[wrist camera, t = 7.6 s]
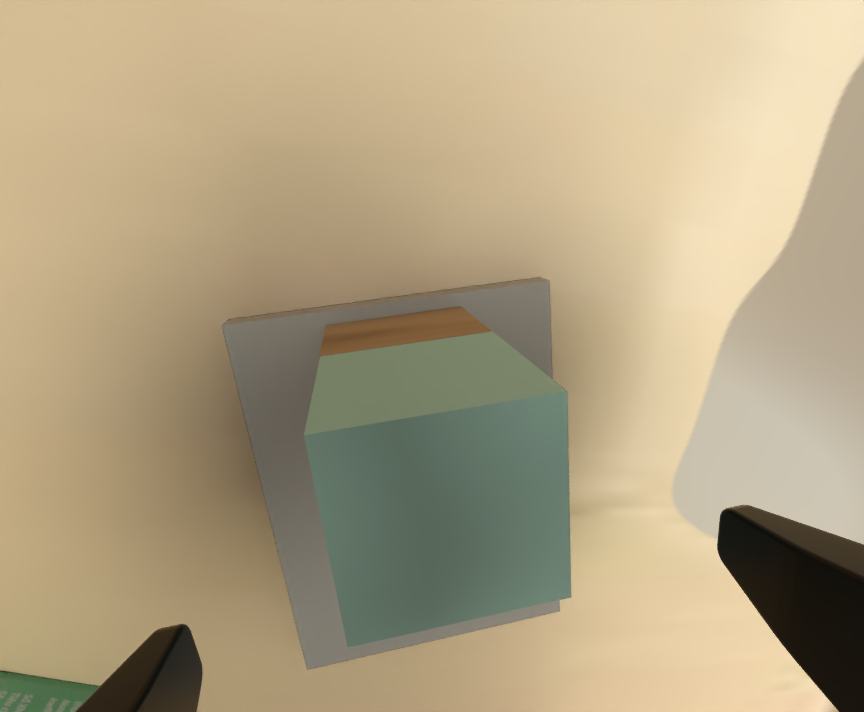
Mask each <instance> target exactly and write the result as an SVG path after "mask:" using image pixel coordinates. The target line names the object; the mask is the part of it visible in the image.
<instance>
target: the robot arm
mask: <svg viewBox="0 0 864 712" xmlns="http://www.w3.org/2000/svg"><path fill="white" fill-rule="evenodd" d="M717 549H718V553H719V556H720V558H721V560H722V562H723V564H724V565H725V566H726V568H727V569H728V570H729V572H730V573H731V575H732V576H733V577H734V579H735V580H736V582H737V583H738V584H739V586H740V587H741V588H742V590H743V591H744V593H745V594H746V595H747V597H748V598H749V600H750V601H751V602H752V604H753V605H754V606H755V608H756V609H757V611H758V612H759V613H760V615H761V616H762V618H763V619H764V620H765V622H766V623H767V624H768V626H769V627H770V629H771V630H772V631H773V633H774V634H775V635H776V637H777V638H778V639H779V641H780V642H781V643H782V645H783V646H784V647H785V648H786V650H787V651H788V652H789V653H790V654H791V656H792V657H793V658H794V659H795V661H796V662H797V663H798V664H799V665H800V666H801V668H802V669H803V670H804V671H805V672H806V673H807V675H808V676H809V677H810V678H811V679H812V681H813V682H814V683H815V684H816V685H817V686H818V688H819V689H820V690H821V691H822V692H823V693H824V695H825V696H826V697H827V698H828V699H829V701H830V702H831V703H832V704H833V705H834V706H835V708H836V709H837V710H838V711H839V712H864V545H863V544H860V543H857V542H854V541H851V540H849V539H846V538H843V537H840V536H837V535H834V534H831V533H828V532H825V531H822V530H819V529H816V528H814V527H811V526H808V525H805V524H802V523H799V522H796V521H793V520H790V519H787V518H784V517H781V516H779V515H776V514H773V513H770V512H767V511H764V510H761V509H758V508H755V507H752V506H749V505H740V506H735V507H730V508H726V509H724V510H723V511H722V513H721V515H720V522H719V533H718V543H717ZM201 683H202V663H201V660H200V657H199V654H198V651H197V648H196V645H195V642H194V639H193V636H192V633H191V631H190V629H189V627H188V626H187V625H185V624H179V625H174V626H170V627H165V628H161V629H158V630H157V631H155V632H154V633H153V634H152V635H151V636H150V637H149V638H148V639H147V640H146V641H145V642H144V643H143V644H142V645H141V646H140V647H139V648H138V649H137V650H136V651H135V652H134V653H133V654H132V655H131V656H130V657H129V658H128V659H127V660H126V661H125V662H124V663H123V664H122V665H121V666H120V667H119V668H118V669H117V670H116V671H115V672H114V673H113V674H112V675H111V676H110V677H109V678H108V679H107V680H106V681H105V682H104V683H103V684H102V685H101V686H100V687H99V688H98V689H97V690H96V691H95V692H94V693H93V694H92V695H91V696H90V697H89V698H88V699H87V700H86V701H85V702H84V703H83V704H82V705H81V706H80V707H79V708H78V709H77V710H76V711H75V712H197V707H198V701H199V695H200V689H201Z"/></svg>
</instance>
